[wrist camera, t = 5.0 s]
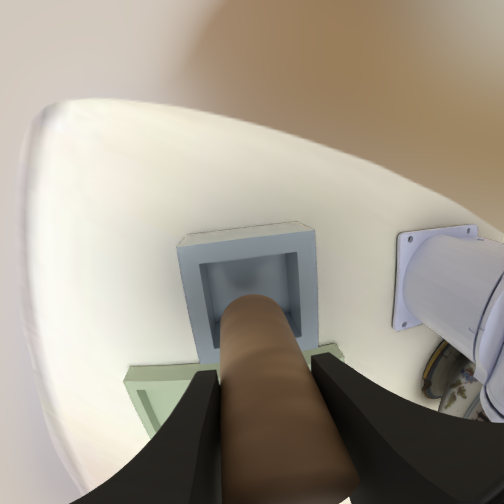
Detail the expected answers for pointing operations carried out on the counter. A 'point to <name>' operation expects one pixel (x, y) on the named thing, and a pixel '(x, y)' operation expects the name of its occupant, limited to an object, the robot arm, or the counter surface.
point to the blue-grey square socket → (250, 279)
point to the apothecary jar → (454, 383)
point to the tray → (176, 386)
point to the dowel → (274, 415)
